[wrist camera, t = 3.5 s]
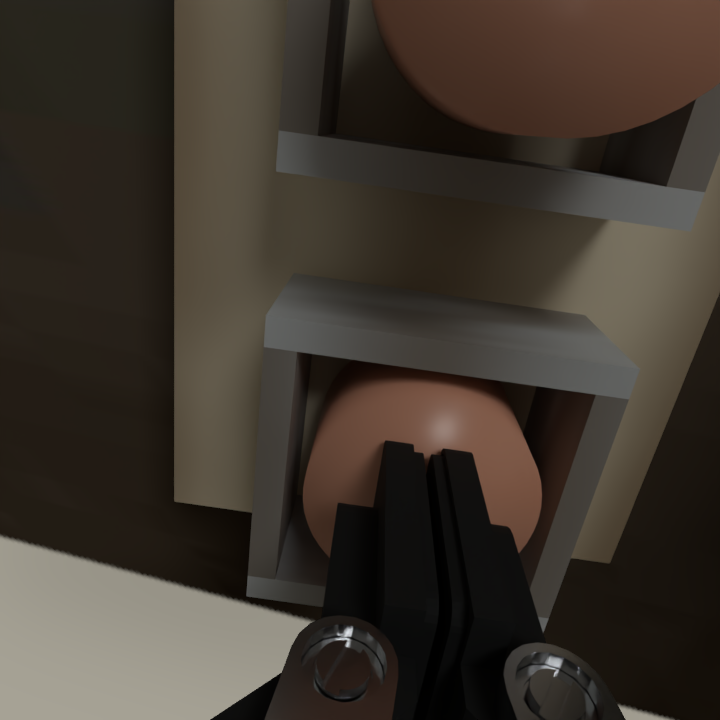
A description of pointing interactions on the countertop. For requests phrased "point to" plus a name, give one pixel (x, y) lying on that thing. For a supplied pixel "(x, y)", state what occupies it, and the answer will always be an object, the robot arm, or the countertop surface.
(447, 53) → the inner knob
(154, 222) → the countertop surface
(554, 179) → the knob plinth
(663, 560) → the countertop surface
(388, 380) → the outer knob
